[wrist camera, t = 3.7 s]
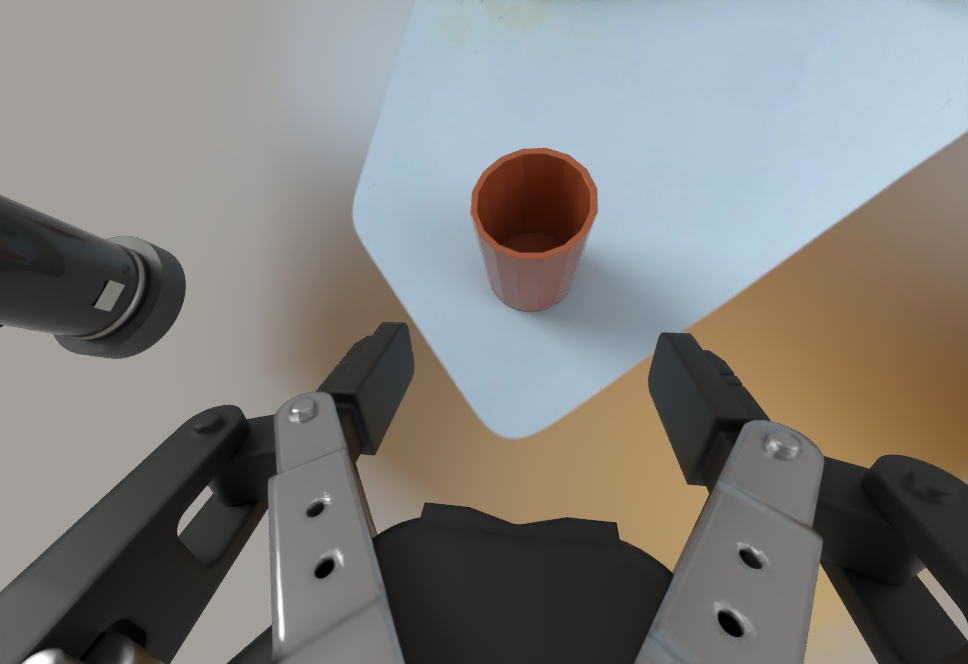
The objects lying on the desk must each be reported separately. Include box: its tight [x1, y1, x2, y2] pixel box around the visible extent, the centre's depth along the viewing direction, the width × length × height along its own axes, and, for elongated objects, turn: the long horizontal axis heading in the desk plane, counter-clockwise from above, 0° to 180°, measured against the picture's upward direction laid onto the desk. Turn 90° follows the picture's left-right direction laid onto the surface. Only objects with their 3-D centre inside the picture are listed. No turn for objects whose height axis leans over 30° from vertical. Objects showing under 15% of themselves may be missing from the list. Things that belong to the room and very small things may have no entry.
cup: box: [470, 148, 598, 311], centre depth 21 cm, size 6×6×8 cm
